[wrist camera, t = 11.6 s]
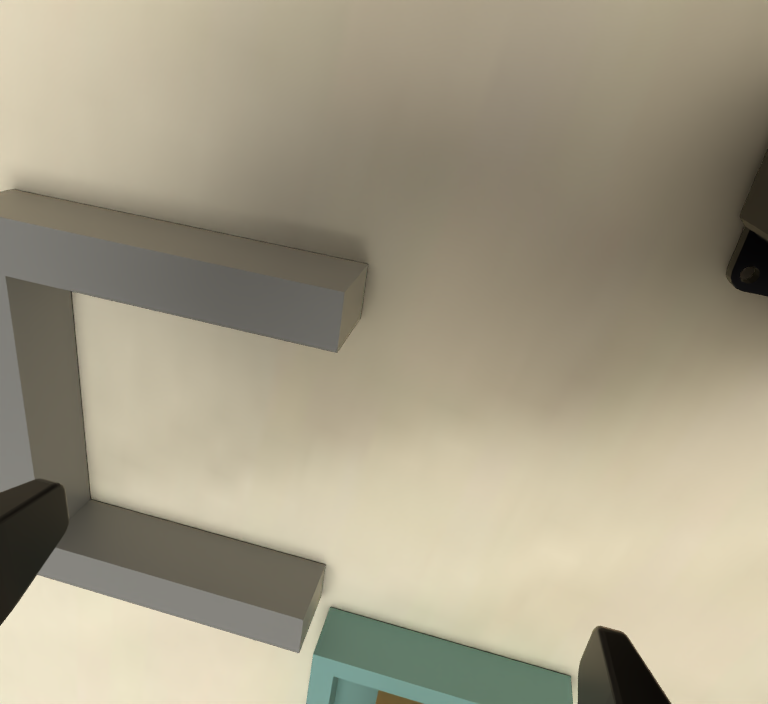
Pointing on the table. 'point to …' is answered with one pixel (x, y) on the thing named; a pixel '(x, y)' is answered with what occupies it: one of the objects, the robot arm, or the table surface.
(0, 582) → the robot arm
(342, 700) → the tray
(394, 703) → the grey and orange block
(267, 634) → the bay
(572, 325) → the table surface
